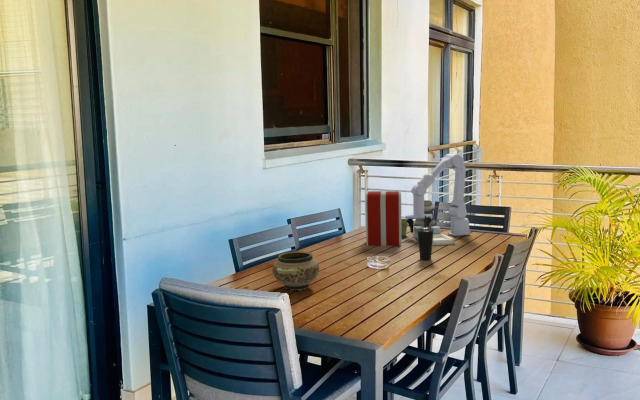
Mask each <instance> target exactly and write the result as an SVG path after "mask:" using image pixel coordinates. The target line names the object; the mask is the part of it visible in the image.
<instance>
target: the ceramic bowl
mask: <svg viewBox="0 0 640 400" xmlns="http://www.w3.org/2000/svg"><path fill="white" fill-rule="evenodd" d="M277 259H278V260H276V261H275V262H274V264H273V267H272V274H273V276H274V278H275V279H276V280H277V281H278V282H279V283H280V284H281V285H284V289H286V290H287V289H290V290H289V291H292V290H298V291H304V290H307V289H308V288H309V287H310V285H309V284H311V283H312V282H313V281H314V280H315V279H316V278H317V277H318V275H319V271H320V265H319V262H318V261H317V260H316V259H315V258H313V253H312V252H308V251H287V252H282V253H280V254H278V256H277ZM306 288H307V289H306ZM303 289H304V290H303Z"/></svg>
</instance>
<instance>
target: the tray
mask: <svg viewBox="0 0 640 400" xmlns="http://www.w3.org/2000/svg"><path fill="white" fill-rule="evenodd" d="M443 245H444V246H445V245H447V246H448V245H455V238H453V237H451V236H448V235H447V234H445V233H440V234H433V242H432V247H433V246H443Z"/></svg>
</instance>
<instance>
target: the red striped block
mask: <svg viewBox="0 0 640 400" xmlns="http://www.w3.org/2000/svg"><path fill="white" fill-rule="evenodd" d="M401 219H402V193H401V191H400V190H367V192H366V193H365V232H366V233H365V237H366V239H365V240H366V241H365V242H366V247H367V246H370V247H373V246H374V247H387V246H388V247H390V246H391V247H398V246H399V247H402V238H403V236H402V226H401Z"/></svg>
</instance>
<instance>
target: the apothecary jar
mask: <svg viewBox="0 0 640 400" xmlns="http://www.w3.org/2000/svg"><path fill="white" fill-rule="evenodd" d="M435 210H436V206H435V205H434V204H433V201H432V200H430V199H429V200H428V199H427V200H426V199H424V214H431V215H432V218H430V219H431V222H430V224H429V226H428V227H432V226H436V223H437V222H436V220H435V219H434V211H435ZM413 221H414V225H413V226H414V227H416V226H422V227H424V219H414V220H413Z"/></svg>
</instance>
